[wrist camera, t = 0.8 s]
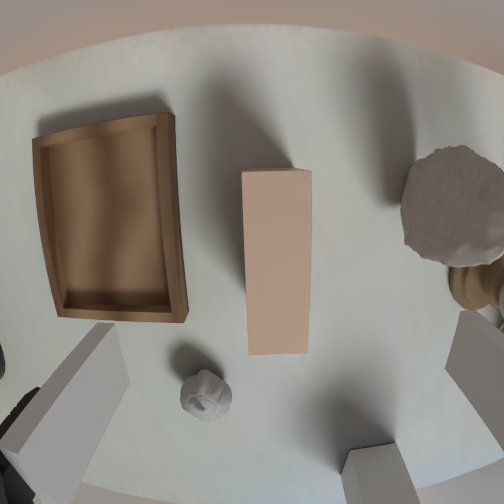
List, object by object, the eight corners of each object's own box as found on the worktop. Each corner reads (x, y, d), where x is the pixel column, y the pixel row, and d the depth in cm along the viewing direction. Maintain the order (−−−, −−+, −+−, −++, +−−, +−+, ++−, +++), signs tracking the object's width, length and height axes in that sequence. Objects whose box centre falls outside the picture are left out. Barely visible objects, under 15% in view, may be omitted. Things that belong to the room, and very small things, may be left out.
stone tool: (403, 140, 25) (517, 135, 11) (432, 149, 25) (549, 154, 11) (386, 238, 28) (482, 306, 13) (414, 243, 28) (515, 308, 14)
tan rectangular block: (251, 300, 30) (248, 354, 21) (246, 168, 27) (241, 172, 18) (294, 299, 30) (307, 352, 21) (294, 167, 26) (311, 170, 18)
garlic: (176, 365, 32) (164, 396, 27) (224, 358, 32) (219, 390, 27) (194, 404, 34) (186, 436, 29) (239, 399, 33) (236, 432, 28)
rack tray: (68, 307, 31) (57, 316, 28) (46, 139, 26) (32, 138, 23) (189, 311, 30) (183, 322, 28) (175, 116, 25) (167, 112, 23)
